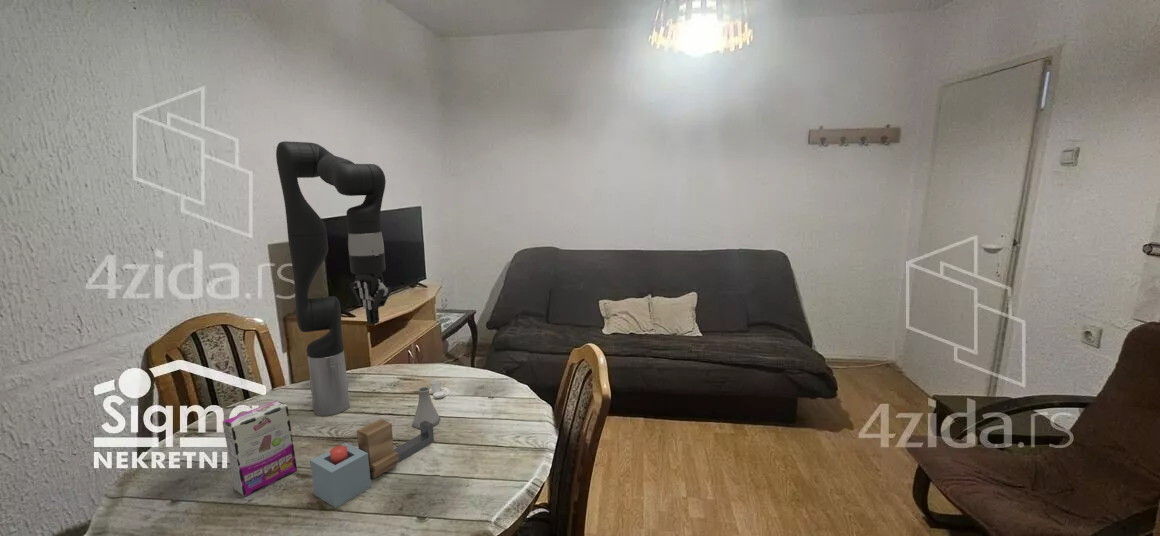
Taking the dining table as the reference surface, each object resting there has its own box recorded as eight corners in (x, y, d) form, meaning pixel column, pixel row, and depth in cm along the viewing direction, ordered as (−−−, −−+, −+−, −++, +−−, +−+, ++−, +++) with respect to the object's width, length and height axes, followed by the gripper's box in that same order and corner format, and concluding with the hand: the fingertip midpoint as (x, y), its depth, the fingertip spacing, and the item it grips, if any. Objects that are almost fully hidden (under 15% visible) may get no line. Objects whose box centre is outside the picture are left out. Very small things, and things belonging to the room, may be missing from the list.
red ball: (328, 463, 101) (326, 450, 100) (342, 456, 104) (341, 443, 103) (337, 468, 99) (335, 455, 99) (351, 460, 102) (349, 448, 101)
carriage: (357, 469, 109) (352, 428, 107) (380, 456, 114) (376, 417, 112) (376, 479, 105) (371, 437, 103) (399, 465, 110) (395, 425, 108)
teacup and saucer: (445, 401, 144) (444, 388, 144) (419, 401, 145) (418, 388, 144) (453, 388, 153) (452, 376, 152) (428, 388, 153) (427, 376, 152)
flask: (431, 430, 127) (429, 395, 125) (407, 428, 128) (404, 393, 126) (444, 417, 134) (442, 384, 132) (421, 415, 135) (418, 382, 133)
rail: (356, 478, 107) (353, 458, 106) (426, 438, 123) (424, 420, 122) (364, 482, 105) (362, 462, 104) (434, 441, 121) (432, 423, 120)
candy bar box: (286, 464, 112) (277, 399, 109) (297, 470, 110) (289, 404, 107) (232, 490, 103) (221, 420, 100) (243, 498, 100) (232, 426, 97)
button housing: (314, 494, 101) (309, 460, 100) (349, 474, 108) (345, 442, 107) (335, 508, 97) (331, 472, 96) (371, 486, 104) (367, 453, 102)
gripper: (334, 251, 111) (342, 323, 114) (369, 256, 104) (376, 332, 107) (364, 247, 117) (370, 315, 121) (398, 252, 110) (404, 323, 114)
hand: (373, 323), depth 114 cm, fingers closed
